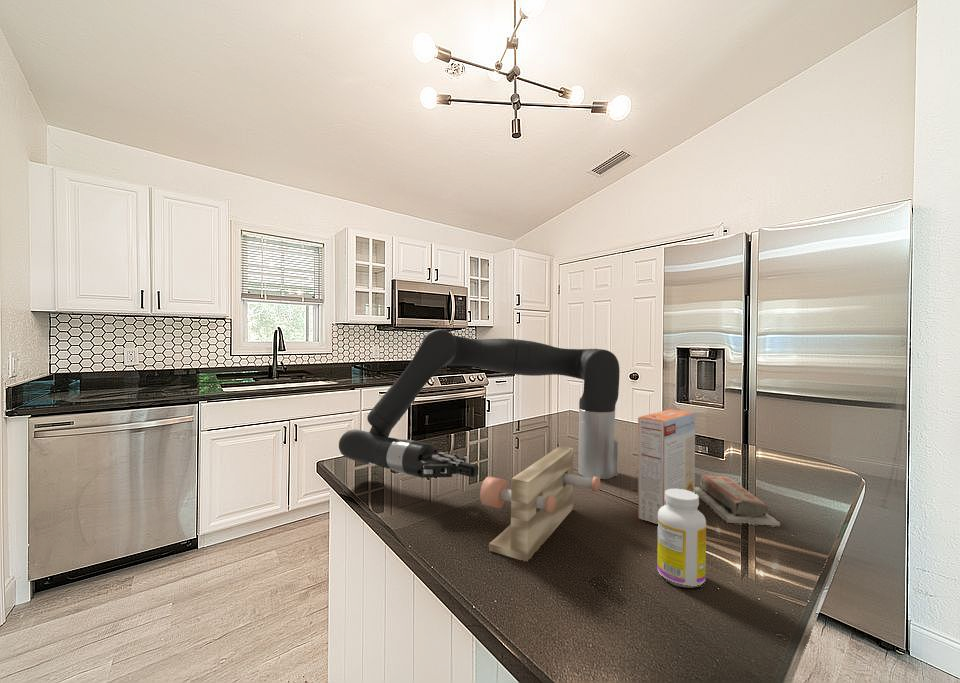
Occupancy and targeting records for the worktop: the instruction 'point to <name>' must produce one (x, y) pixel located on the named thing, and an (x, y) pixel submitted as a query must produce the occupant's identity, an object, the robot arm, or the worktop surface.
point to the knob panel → (528, 520)
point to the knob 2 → (582, 481)
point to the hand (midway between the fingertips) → (476, 471)
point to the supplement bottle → (681, 539)
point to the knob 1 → (509, 495)
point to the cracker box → (664, 458)
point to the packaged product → (733, 501)
